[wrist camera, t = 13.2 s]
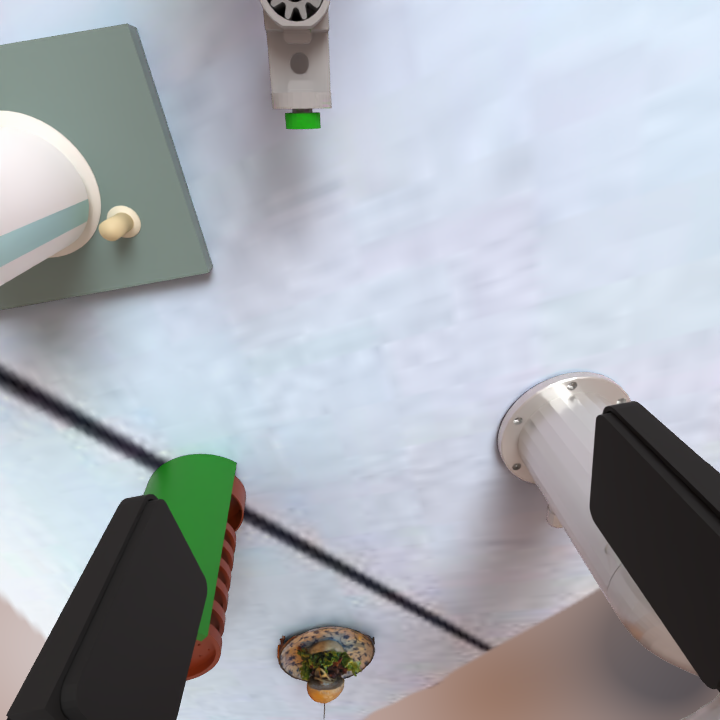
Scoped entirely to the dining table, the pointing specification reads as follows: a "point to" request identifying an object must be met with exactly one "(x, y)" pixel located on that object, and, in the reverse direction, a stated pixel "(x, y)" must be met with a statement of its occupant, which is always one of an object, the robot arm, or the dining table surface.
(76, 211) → the can
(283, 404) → the dining table surface
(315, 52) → the mechanical component
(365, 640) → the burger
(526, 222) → the dining table surface
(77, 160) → the pin board
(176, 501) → the motor
